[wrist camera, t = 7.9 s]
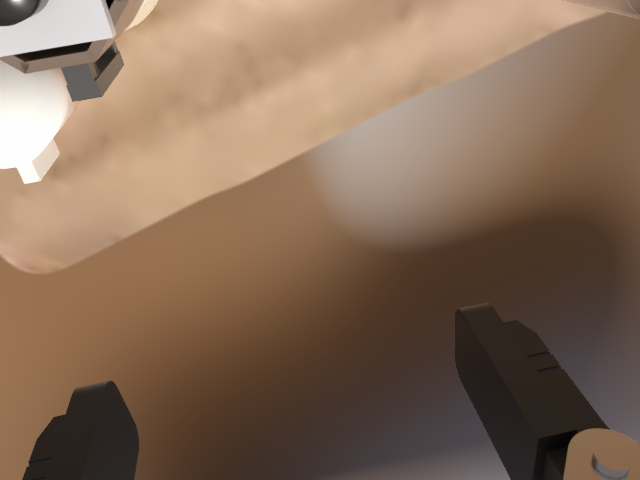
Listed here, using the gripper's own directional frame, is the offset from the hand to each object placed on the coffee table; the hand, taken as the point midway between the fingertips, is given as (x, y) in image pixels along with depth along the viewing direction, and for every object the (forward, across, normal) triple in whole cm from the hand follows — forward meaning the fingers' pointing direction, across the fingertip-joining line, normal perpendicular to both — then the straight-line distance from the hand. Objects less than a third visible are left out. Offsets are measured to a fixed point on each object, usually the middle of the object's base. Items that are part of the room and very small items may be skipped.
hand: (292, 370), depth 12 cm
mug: (+38, +18, 0) cm, 42 cm away
